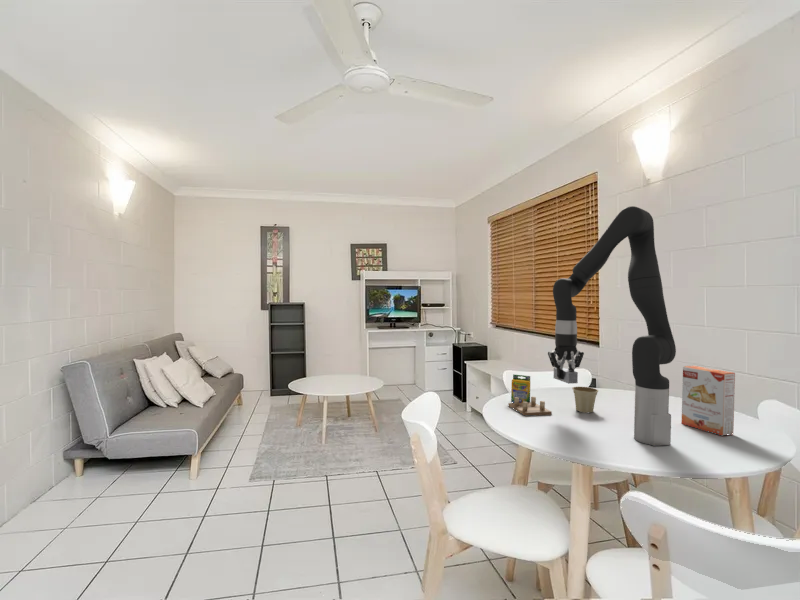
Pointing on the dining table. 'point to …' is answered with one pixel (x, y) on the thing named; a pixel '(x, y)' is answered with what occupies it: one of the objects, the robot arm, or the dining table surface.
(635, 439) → the robot arm
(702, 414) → the cracker box
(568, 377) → the translucent grey block
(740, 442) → the dining table surface
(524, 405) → the rack
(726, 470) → the dining table surface
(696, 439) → the dining table surface
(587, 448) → the dining table surface
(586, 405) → the flower pot
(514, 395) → the crayon box
